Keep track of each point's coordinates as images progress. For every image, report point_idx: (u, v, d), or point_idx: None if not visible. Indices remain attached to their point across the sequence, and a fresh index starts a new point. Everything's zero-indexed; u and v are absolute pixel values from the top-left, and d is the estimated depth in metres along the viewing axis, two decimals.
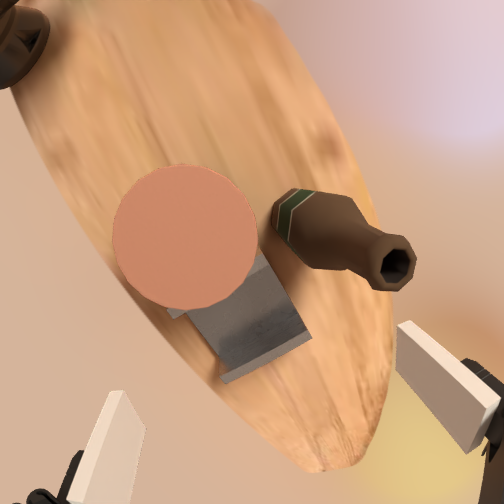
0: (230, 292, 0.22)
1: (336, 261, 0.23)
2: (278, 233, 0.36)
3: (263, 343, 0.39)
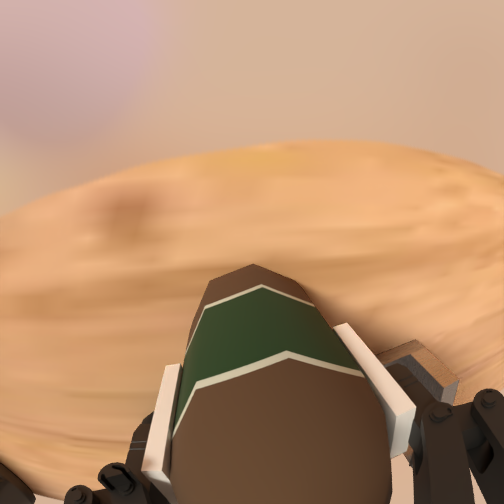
0: None
1: None
2: None
3: None
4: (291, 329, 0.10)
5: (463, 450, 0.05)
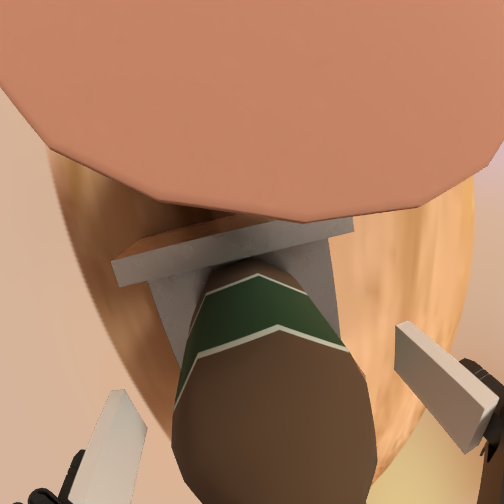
0: (443, 183, 0.03)
1: None
2: None
3: None
4: (283, 309, 0.12)
5: None
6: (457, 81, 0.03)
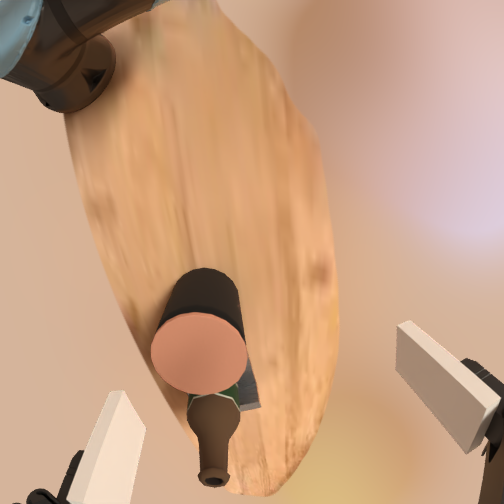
0: (218, 391, 0.32)
1: None
2: None
3: None
4: None
5: None
6: (221, 380, 0.31)
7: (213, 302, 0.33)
